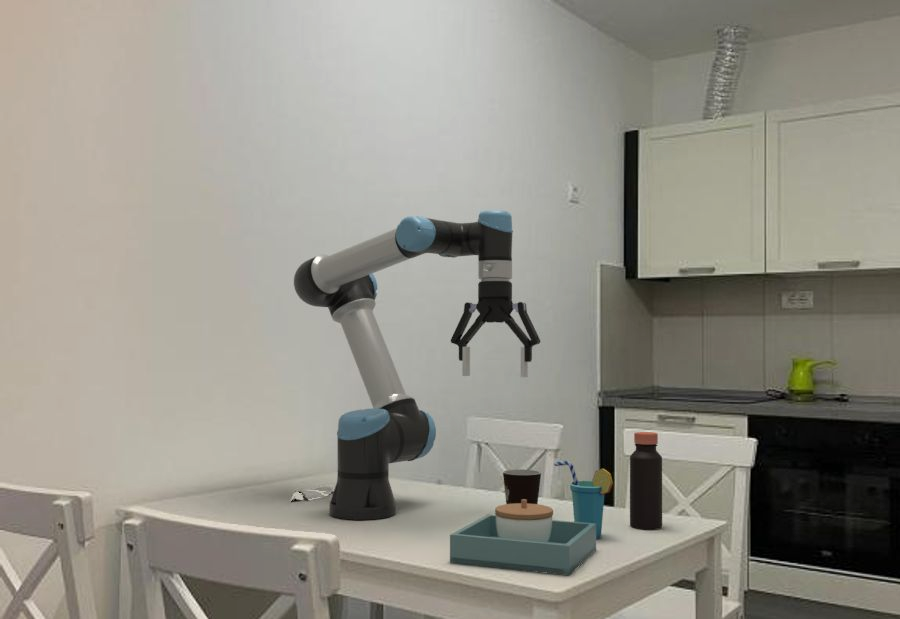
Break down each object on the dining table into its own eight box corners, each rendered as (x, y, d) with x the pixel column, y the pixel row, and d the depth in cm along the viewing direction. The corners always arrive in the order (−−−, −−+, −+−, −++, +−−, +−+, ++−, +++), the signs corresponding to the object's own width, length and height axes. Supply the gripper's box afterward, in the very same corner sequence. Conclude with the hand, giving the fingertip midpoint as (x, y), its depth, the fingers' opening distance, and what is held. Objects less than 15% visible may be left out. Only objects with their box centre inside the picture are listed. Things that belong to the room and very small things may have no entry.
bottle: (667, 529, 191) (667, 434, 192) (636, 530, 190) (636, 435, 191) (654, 523, 198) (654, 431, 199) (625, 523, 197) (625, 431, 197)
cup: (545, 534, 186) (545, 461, 186) (563, 528, 192) (564, 457, 193) (606, 544, 178) (606, 467, 178) (624, 537, 184) (624, 463, 184)
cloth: (331, 486, 247) (331, 478, 247) (369, 492, 239) (369, 483, 239) (259, 500, 226) (259, 491, 226) (298, 507, 218) (299, 497, 218)
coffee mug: (538, 521, 199) (539, 475, 199) (500, 519, 201) (500, 474, 201) (544, 511, 210) (544, 468, 211) (507, 509, 212) (507, 466, 212)
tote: (449, 562, 163) (450, 534, 163) (487, 539, 181) (487, 514, 181) (569, 575, 154) (569, 546, 154) (596, 549, 173) (596, 523, 173)
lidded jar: (536, 560, 160) (536, 507, 161) (484, 552, 166) (484, 501, 166) (562, 548, 169) (562, 498, 170) (512, 541, 175) (512, 492, 175)
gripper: (436, 280, 202) (436, 375, 202) (544, 278, 193) (544, 378, 192) (449, 282, 209) (449, 374, 209) (554, 280, 200) (553, 376, 199)
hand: (494, 376), depth 201 cm, fingers open, 13 cm apart
